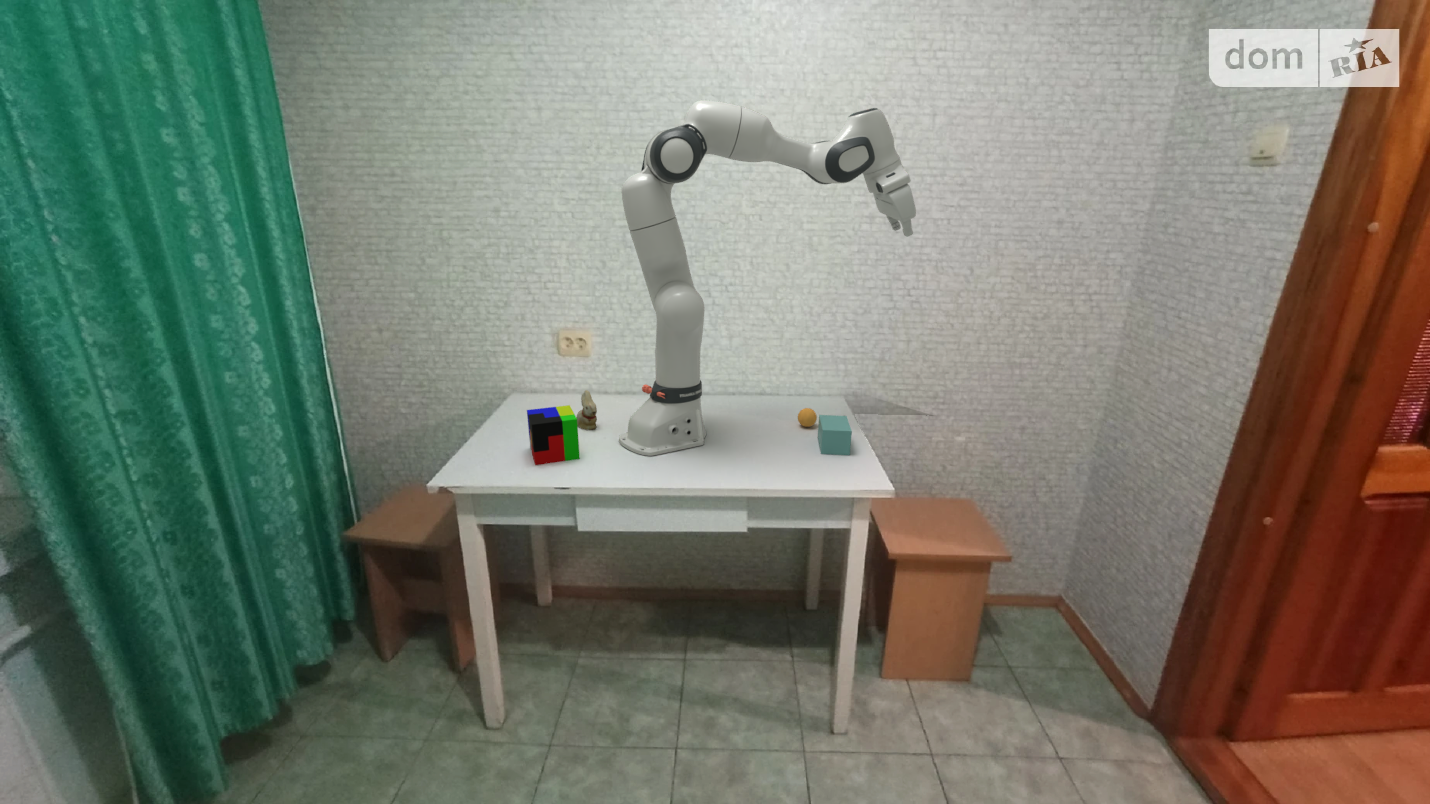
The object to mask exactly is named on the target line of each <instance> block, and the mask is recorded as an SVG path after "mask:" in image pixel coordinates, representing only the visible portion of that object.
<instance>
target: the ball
mask: <svg viewBox="0 0 1430 804" xmlns="http://www.w3.org/2000/svg"><path fill="white" fill-rule="evenodd" d="M817 417H818V416H817V413H816V412H815V411H814V409H812V408H809V407H805V408H802V409H801V410H800V411H799V412H798V414H797V422H798V423H799V424H800V425H801V426H803V427H805V428H810V427H812V426H814V425H815V424H816V422H817Z"/></svg>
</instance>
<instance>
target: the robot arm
mask: <svg viewBox="0 0 1430 804" xmlns="http://www.w3.org/2000/svg"><path fill="white" fill-rule="evenodd" d="M891 129H892V128H891V127H890V125H889V122H888V120H887V118H886V116H885V113H883V110H881V109H879V108H877V107H872V108H867V109H864V110H860V111H857V112H853V113H851V114H850V115H848V117H847V120H846V121H845V123H844V125H843V127H842V128H841V129H840V131H838V133H837V134H836V136H835V137H834V138H833V139H832V140H822V141H817V142H807V141H803V140H799V139H797V138H793V137H790V136H787V135H783V134H781V133H779V132H778V131H776V130H775V129H774V127H773V124H772V122H771V120H770V119H769V118H768V117H767V116H765V115H763V114H762V113H760V112H758V111H756V110H753V109H751V108H750V107H749V108H748V107H745V106H742V105H739V104H734V103H729V102H724V101H720V100H719V101H717V100H710V99H709V100H707V99H705V100H704V99H701V100H697V101H695V102H693V103H692V104H691V105H690V106H689V108H688V110H687V112H686V114H685V116H684V120H683V124H682V125H680V126H675V127H673V128H669V129H664V130H663V129H662V130H661V131H658V132H657V133H656V134H655V135H653V136H652V138H651V139H650V140H649V141H648V143H647V145H646V148H645V150H644V154H643V155H644V156H643V161H642V164H641V165H642V166H641V171H640V172H637V173H634V174H632V175H631V176H629V177H627V179H626V180H625V181H624V182H623V184H622V185H621V186H622V187H621V200H622V205H623V211H624V216H625V219H626V222H627V227H628V229H629V233H630V236H631V239H632V243H633V246H634V249H635V252H636V255H637V258H638V261H639V265H640V268H641V272H642V275H643V277H644V281H645V284H646V287H647V290H648V291H647V292H648V295H649V297H650V301H651V304H652V306H653V310H654V311H655V316H656V333H655V335H656V336H655V337H656V338H655V350H654V353H655V354H654V357H655V358H654V359H655V360H654V362H655V365H654V367H655V381H654V382H653V385H652V386H650V385H648V384H647V383H646V384H643V385H642V386H641V391H642V393H645V394H647V395H649V398H648V399H647V400H646V401H644V403H643V404H642V405H641V406H640V407H639V408H637V410H636V411H635V412H634V413H632V415H630V418H629V420H628V425H627V432H625V433H622V434H620V435H619V436H618V442H619V444H620V445H621V446H623V448H625V449H627V450H629V451H630V452H633V453H636V454H638V455H642V456H647V457H648V456H649V457H652V456H656V455H657V456H658V455H662V454H665V453H666V454H667V453H671V452H675V451H676V452H677V451H681V450H686V449H689V448H696V447H700V446H703V445H704V444H705V438H706V436H707V430H706V427H705V424H704V418H703V413H702V412H703V411H702V403H701V401H702V400H701V397H702V396H703V382H702V379H701V349H702V348H701V347H702V342H703V341H702V340H703V331H704V321H705V303H704V299H703V297H702V295H701V294H700V293H699V292H698V290H696V287H695V285H694V283H693V278H692V274H691V270H690V265H689V260H688V256H687V255H688V254H687V250H686V246H685V243H684V240H683V236H682V232H681V230H680V229H681V228H680V226H679V223H678V219H677V215H676V212H675V210H674V206H673V203H672V190H673V187H674V185H675V184H681V183H684V182H686V181H688V180H689V179H690V178H692V177H693V175H694V174H695V173H696V172H697V171H698V168H699V167H700V165H701V163H702V161H703V159H704V157H705V155H712V156H718V157H722V158H725V159H729V160H732V161H737V162H745V163H761V162H772V163H776V164H780V165H782V166H787V167H790V168H793V169H796V170H799V171H801V172H803V173H804V174H806V175H807V176H808V177H809V178H810V179H811V180H812V181H814V182H815V183H817V184H819V185H830V184H846V183H849V182H852V181H853V180H854V179H856V178H858V177H859V176H860V175H862V174H863V175H862V176H863V178H864V181H865V183H866V187H867V189H868V193H870V194H872V195H873V197H874V201H875V204H876V207H877V210H878V212H879V213H881V214H883V215H885V216H886V218H887V220H888V223H889V224H890V226H891V229H892V230H893V231H898V230H900V229H901V227H902V232H903V235H904V236H905V237H911V236H912V235H914V231H913V229H912V219H915V217H916V215H917V209H916V204H915V200H914V197H913V193H912V189H911V187H910V184H909V183H911V177H910V175H909V173H908V172H907V171H906V170H905V168H904V166H903V163H902V161H901V158H900V155H899V154H898V153H897V151H896V148H895V139H894V135H893V133H892V130H891Z"/></svg>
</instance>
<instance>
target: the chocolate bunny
mask: <svg viewBox="0 0 1430 804" xmlns="http://www.w3.org/2000/svg"><path fill="white" fill-rule="evenodd" d="M580 397H581V398H580V399H581V401H580V402H581V406H582V409H580V410H578V412H577V414H576V418H577V425H578V429H579V428H580V429H581V430H586V431H593V430H595V429H596V428H597V420H598V419H597V418H598V417H597V413H598V412H597V411H598V409H597V404H596V403H595V402H594V400H593V398H592V394H591V392H590V391H589V390H587V389H586V390H584V391H583V392H582V393H581V396H580Z"/></svg>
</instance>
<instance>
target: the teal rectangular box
mask: <svg viewBox="0 0 1430 804" xmlns="http://www.w3.org/2000/svg"><path fill="white" fill-rule="evenodd" d="M817 427H818V428H817V442H818V446H819V451H820V455H834V456H835V455H838V456H850V455H851V443H852V442H851V441H852V432H853V430H852V428H851V424H850V423H849V419H848V416H847V415H833V414H830V415H829V414H819V415H818V425H817Z"/></svg>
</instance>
